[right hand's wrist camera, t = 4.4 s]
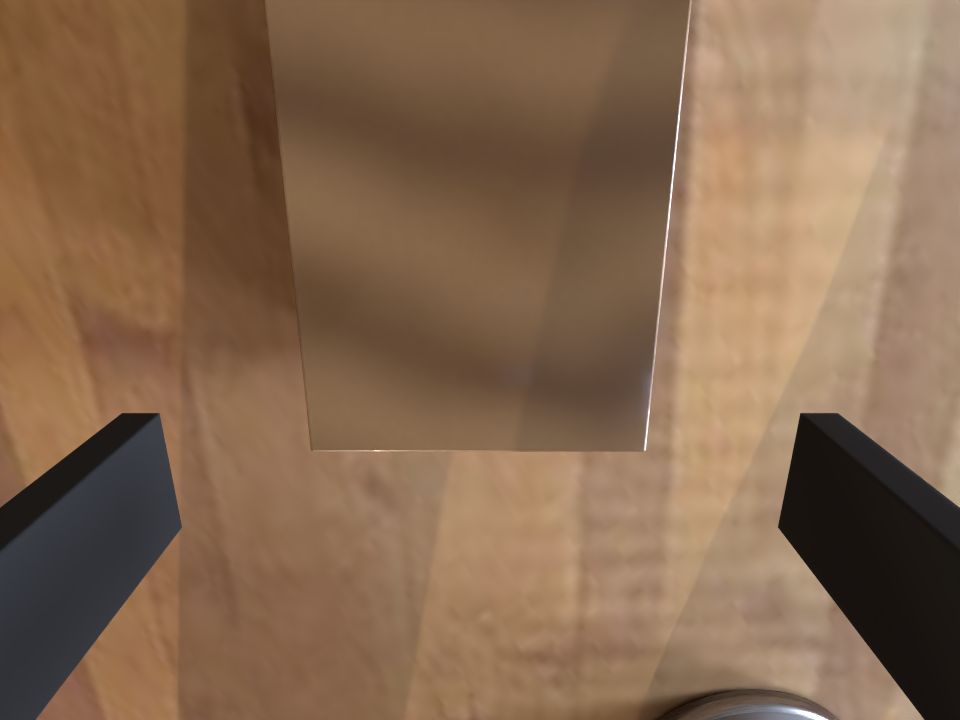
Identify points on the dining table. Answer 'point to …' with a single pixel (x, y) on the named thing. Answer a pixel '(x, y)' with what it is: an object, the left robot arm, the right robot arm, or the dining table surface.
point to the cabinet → (478, 216)
